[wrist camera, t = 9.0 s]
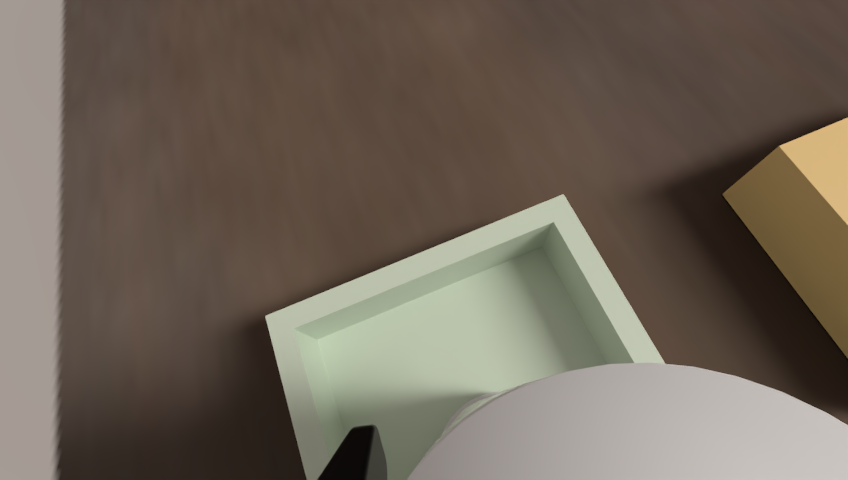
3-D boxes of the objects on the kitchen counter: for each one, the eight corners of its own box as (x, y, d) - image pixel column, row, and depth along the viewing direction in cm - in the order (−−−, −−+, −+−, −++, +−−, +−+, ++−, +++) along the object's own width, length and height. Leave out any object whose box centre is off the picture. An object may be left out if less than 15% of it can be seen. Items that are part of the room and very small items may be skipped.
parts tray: (775, 630, 13) (861, 691, 10) (428, 798, 12) (417, 913, 9) (548, 227, 18) (563, 194, 15) (297, 331, 17) (265, 315, 15)
